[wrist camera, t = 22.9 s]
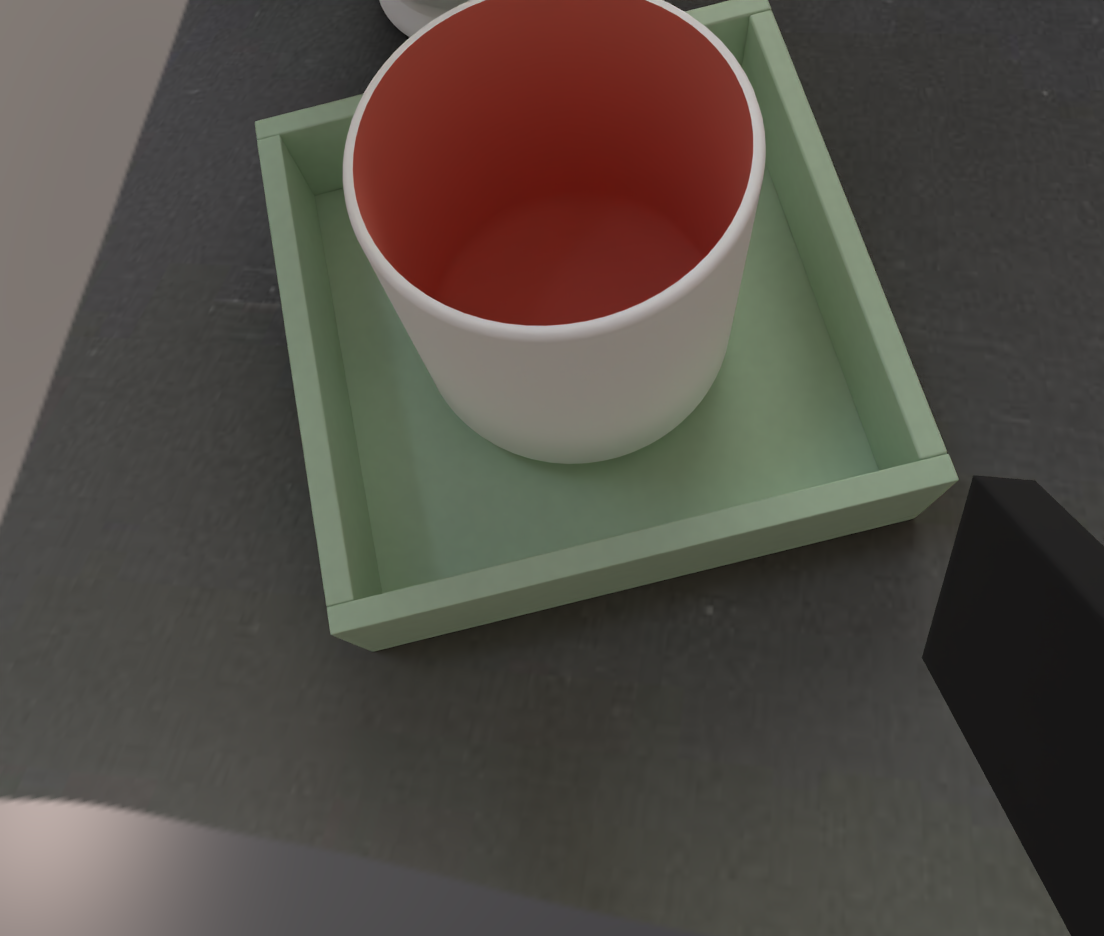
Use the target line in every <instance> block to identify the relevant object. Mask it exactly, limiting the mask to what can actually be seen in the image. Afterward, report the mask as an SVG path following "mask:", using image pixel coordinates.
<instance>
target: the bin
mask: <svg viewBox="0 0 1104 936" xmlns="http://www.w3.org/2000/svg"><path fill="white" fill-rule="evenodd" d="M686 13H687V14H689V15H690V16H692V17H693V18H695V19H696V20H697V21H699V22H700V23H701V24H703V25H704V26H706V27H707V28H708V29H709V30H710V31H711V32H712V33H713V34H714V35H715V36H716V37H718V38H719V39H720V40H721V41H722V42H723V44H724V45H725V46H726V47H727V48H728V49H729V51H730V52H731V53H732V54H733V55H734V57H735V58H736V60H737V61H738V63H739V64H740V66H741V67H742V69H743V70H744V72H745V73H746V75H747V77H748V79H749V81H750V83H751V85H752V87H753V90H754V93H755V96H756V99H757V102H758V104H759V108H760V111H761V114H762V118H763V124H764V130H765V142H766V159H765V169H764V177H763V181H762V186H761V191H760V195H759V200H758V205H757V210H756V214H755V219H754V224H753V228H752V233H751V238H750V243H749V247H748V252H747V257H746V261H745V266H744V271H743V276H742V280H741V285H740V290H739V294H738V299H737V304H736V309H735V313H734V318H733V323H732V327H731V332H730V337H729V341H728V346H727V350H726V354H725V357H724V360H723V363H722V365H721V368H720V370H719V372H718V374H717V377H716V379H715V380H714V382H713V384H712V386H711V387H710V389H709V391H708V392H707V394H706V395H705V397H704V398H703V399H702V401H701V402H700V403H699V405H698V406H697V407H696V408H695V409H694V410H693V412H692V413H691V414H690V415H689V416H688V417H687V418H686V419H685V420H683V421H682V422H681V423H680V424H679V425H678V426H677V427H675V428H674V429H673V430H672V431H670V432H669V433H667V434H666V435H665V436H663V437H662V438H660V439H658V440H657V441H655V442H653V443H652V444H650V445H648V446H646V447H643V448H641V449H639V450H637V451H635V452H632V453H629V454H626V455H624V456H621V457H618V458H613V459H609V460H605V461H600V462H592V463H583V464H561V463H549V462H544V461H539V460H533V459H530V458H526V457H523V456H520V455H517V454H514V453H512V452H509V451H507V450H505V449H503V448H500V447H498V446H496V445H495V444H493V443H491V442H490V441H488V440H486V439H485V438H483V437H481V436H480V435H479V434H478V433H476V432H475V431H474V430H472V429H471V428H470V427H469V426H467V425H466V424H465V423H464V422H463V421H462V420H461V419H460V418H459V417H458V416H457V415H456V414H455V413H454V411H453V410H452V409H451V408H450V406H449V405H448V404H447V402H446V401H445V400H444V398H443V397H442V395H441V394H440V392H439V390H438V388H437V386H436V384H435V383H434V381H433V379H432V377H431V375H430V373H429V372H428V370H427V368H426V366H425V364H424V362H423V361H422V359H421V357H420V355H419V353H418V351H417V349H416V348H415V346H414V344H413V342H412V340H411V338H410V336H409V335H408V333H407V331H406V329H405V327H404V325H403V324H402V322H401V320H400V318H399V316H398V314H397V312H396V310H395V309H394V307H393V305H392V303H391V301H390V299H389V297H388V296H387V294H386V292H385V290H384V288H383V286H382V284H381V283H380V281H379V279H378V277H377V275H376V273H375V271H374V270H373V268H372V266H371V264H370V262H369V260H368V258H367V256H366V255H365V253H364V251H363V249H362V247H361V245H360V243H359V242H358V240H357V237H356V235H355V232H354V230H353V228H352V225H351V222H350V219H349V215H348V212H347V208H346V202H345V196H344V188H343V157H344V149H345V144H346V139H347V134H348V131H349V128H350V124H351V121H352V118H353V116H354V113H355V111H356V108H357V106H358V104H359V102H360V100H361V98H362V96H363V94H361V95H357V96H353V97H349V98H345V99H341V100H337V101H333V102H329V103H326V104H322V105H318V106H314V107H310V108H306V109H302V110H298V111H294V112H290V113H286V114H282V115H279V116H275V117H271V118H267V119H263V120H259V121H256V122H255V129H256V136H257V140H258V141H257V144H258V151H259V158H260V164H261V171H262V178H263V185H264V191H265V198H266V205H267V211H268V218H269V225H270V231H271V238H272V245H273V252H274V258H275V265H276V272H277V278H278V285H279V292H280V299H281V305H282V312H283V319H284V325H285V332H286V339H287V346H288V352H289V359H290V366H291V372H292V379H293V386H294V393H295V399H296V406H297V413H298V419H299V426H300V433H301V440H302V446H303V453H304V460H305V466H306V473H307V480H308V487H309V493H310V500H311V507H312V513H313V520H314V527H315V533H316V540H317V547H318V554H319V560H320V567H321V574H322V580H323V587H324V594H325V601H326V606H327V615H328V621H329V628H330V634H331V635H333V636H335V637H337V638H340V639H342V640H345V641H347V642H349V643H352V644H354V645H357V646H359V647H362V648H364V649H367V650H370V651H372V652H374V651H378V650H382V649H386V648H390V647H394V646H399V645H403V644H407V643H411V642H415V641H419V640H423V639H427V638H431V637H435V636H439V635H443V634H447V633H451V632H455V631H459V630H464V629H468V628H472V627H476V626H480V625H484V624H488V623H492V622H496V621H500V620H504V619H508V618H512V617H516V616H520V615H524V614H529V613H533V612H537V611H541V610H545V609H549V608H553V607H557V606H561V605H565V604H569V603H573V602H577V601H581V600H585V599H589V598H593V597H598V596H602V595H606V594H610V593H614V592H618V591H622V590H626V589H630V588H634V587H638V586H642V585H646V584H650V583H654V582H658V581H663V580H667V579H671V578H675V577H679V576H683V575H687V574H691V573H695V572H699V571H703V570H707V569H711V568H715V567H719V566H723V565H728V564H732V563H736V562H740V561H744V560H748V559H752V558H756V557H760V556H764V555H768V554H772V553H776V552H780V551H784V550H788V549H792V548H797V547H801V546H805V545H809V544H813V543H817V542H821V541H825V540H829V539H833V538H837V537H841V536H845V535H849V534H853V533H857V532H862V531H866V530H870V529H874V528H878V527H882V526H886V525H890V524H894V523H898V522H902V521H906V520H910V519H914V518H916V517H917V516H918V515H919V514H920V513H922V512H923V511H924V510H925V509H926V508H927V507H929V506H930V505H931V504H932V503H933V502H934V501H935V500H936V499H938V498H939V497H940V496H941V495H942V494H943V493H944V492H946V491H947V490H948V489H949V488H950V487H951V486H952V485H954V484H955V483H956V482H957V481H958V480H959V479H958V476H957V474H956V471H955V469H954V466H953V464H952V461H951V458H950V456H949V454H946V453H947V450H946V448H945V445H944V443H943V440H942V438H941V435H940V433H939V430H938V428H937V425H936V423H935V420H934V418H933V415H932V413H931V410H930V407H929V405H928V402H927V400H926V397H925V395H924V392H923V390H922V387H921V385H920V382H919V380H918V377H917V375H916V372H915V370H914V367H913V365H912V362H911V360H910V357H909V355H908V352H907V350H906V347H905V345H904V342H903V340H902V337H901V335H900V332H899V329H898V327H897V324H896V322H895V319H894V317H893V314H892V312H891V309H890V307H889V304H888V302H887V299H886V297H885V294H884V292H883V289H882V287H881V284H880V282H879V279H878V277H877V274H876V272H875V269H874V267H873V264H872V262H871V259H870V256H869V254H868V251H867V249H866V246H865V244H864V241H863V239H862V236H861V234H860V231H859V229H858V226H857V224H856V221H855V219H854V216H853V214H852V211H851V209H850V206H849V204H848V201H847V199H846V196H845V194H844V191H843V189H842V186H841V184H840V181H839V178H838V176H837V173H836V171H835V168H834V166H833V163H832V161H831V158H830V156H829V153H828V151H827V148H826V146H825V143H824V141H823V138H822V136H821V133H820V131H819V128H818V126H817V123H816V121H815V118H814V116H813V113H812V111H811V108H810V106H809V103H808V100H807V98H806V95H805V93H804V90H803V88H802V85H801V83H800V80H799V78H798V75H797V73H796V70H795V68H794V65H793V63H792V60H791V58H790V55H789V53H788V50H787V48H786V45H785V43H784V40H783V38H782V35H781V33H780V30H779V27H778V25H777V22H776V20H775V17H774V15H773V12H772V11H771V7H770V4H769V2H768V0H729V1H725V2H721V3H717V4H713V5H709V6H706V7H702V8H698V9H694V10H690V11H686Z"/></svg>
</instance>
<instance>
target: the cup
mask: <svg viewBox="0 0 1104 936" xmlns="http://www.w3.org/2000/svg"><path fill="white" fill-rule="evenodd" d="M765 159H766V142H765V130H764V124H763V118H762V114H761V111H760V108H759V104H758V102H757V99H756V96H755V93H754V90H753V87H752V85H751V83H750V81H749V79H748V77H747V75H746V73H745V72H744V70H743V69H742V67H741V66H740V64H739V63H738V61H737V60H736V58H735V57H734V55H733V54H732V53H731V52H730V51H729V49H728V48H727V47H726V46H725V45H724V44H723V42H722V41H721V40H720V39H719V38H718V37H716V36H715V35H714V34H713V33H712V32H711V31H710V30H709V29H708V28H707V27H706V26H704V25H703V24H701V23H700V22H699V21H697V20H696V19H695V18H693V17H692V16H690V15H689V14H687V13H686V12H684V11H682V10H680V9H679V8H677V7H675V6H673V5H672V4H670V3H668V2H665V1H663V0H470V1H468V2H465V3H463V4H461V5H459V6H457V7H455V8H453V9H451V10H449V11H447V12H445V13H444V14H442V15H441V16H439V17H437V18H436V19H434V20H432V21H431V22H429V23H428V24H427V25H425V26H424V27H422V28H421V29H420V30H418V31H417V32H416V33H415V34H413V35H412V36H411V37H410V38H409V39H407V40H406V41H405V42H404V43H403V44H402V45H401V46H400V47H399V48H398V49H397V50H396V51H395V52H394V53H393V54H392V55H391V56H390V57H389V59H388V60H387V61H386V62H385V63H384V64H383V65H382V67H381V68H380V69H379V71H378V72H377V73H376V75H375V76H374V77H373V79H372V81H371V82H370V84H369V85H368V87H367V89H366V90H365V92H364V94H363V96H362V98H361V100H360V102H359V104H358V106H357V108H356V111H355V113H354V116H353V118H352V121H351V124H350V128H349V131H348V134H347V139H346V144H345V149H344V157H343V188H344V196H345V202H346V208H347V212H348V215H349V219H350V222H351V225H352V228H353V230H354V232H355V235H356V237H357V240H358V242H359V243H360V245H361V247H362V249H363V251H364V253H365V255H366V256H367V258H368V260H369V262H370V264H371V266H372V268H373V270H374V271H375V273H376V275H377V277H378V279H379V281H380V283H381V284H382V286H383V288H384V290H385V292H386V294H387V296H388V297H389V299H390V301H391V303H392V305H393V307H394V309H395V310H396V312H397V314H398V316H399V318H400V320H401V322H402V324H403V325H404V327H405V329H406V331H407V333H408V335H409V336H410V338H411V340H412V342H413V344H414V346H415V348H416V349H417V351H418V353H419V355H420V357H421V359H422V361H423V362H424V364H425V366H426V368H427V370H428V372H429V373H430V375H431V377H432V379H433V381H434V383H435V384H436V386H437V388H438V390H439V392H440V394H441V395H442V397H443V398H444V400H445V401H446V402H447V404H448V405H449V406H450V408H451V409H452V410H453V411H454V413H455V414H456V415H457V416H458V417H459V418H460V419H461V420H462V421H463V422H464V423H465V424H466V425H467V426H469V427H470V428H471V429H472V430H474V431H475V432H476V433H478V434H479V435H480V436H481V437H483V438H485V439H486V440H488V441H490V442H491V443H493V444H495V445H496V446H498V447H500V448H503V449H505V450H507V451H509V452H512V453H514V454H517V455H520V456H523V457H526V458H530V459H533V460H539V461H544V462H549V463H561V464H583V463H592V462H600V461H605V460H609V459H613V458H618V457H621V456H624V455H626V454H629V453H632V452H635V451H637V450H639V449H641V448H643V447H646V446H648V445H650V444H652V443H653V442H655V441H657V440H658V439H660V438H662V437H663V436H665V435H666V434H667V433H669V432H670V431H672V430H673V429H674V428H675V427H677V426H678V425H679V424H680V423H681V422H682V421H683V420H685V419H686V418H687V417H688V416H689V415H690V414H691V413H692V412H693V410H694V409H695V408H696V407H697V406H698V405H699V403H700V402H701V401H702V399H703V398H704V397H705V395H706V394H707V392H708V391H709V389H710V387H711V386H712V384H713V382H714V380H715V379H716V377H717V374H718V372H719V370H720V368H721V365H722V363H723V360H724V357H725V354H726V350H727V346H728V341H729V337H730V332H731V327H732V323H733V318H734V313H735V309H736V304H737V299H738V294H739V290H740V285H741V280H742V276H743V271H744V266H745V261H746V257H747V252H748V247H749V243H750V238H751V233H752V228H753V224H754V219H755V214H756V210H757V205H758V200H759V195H760V191H761V186H762V181H763V177H764V169H765Z"/></svg>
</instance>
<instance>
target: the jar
mask: <svg viewBox="0 0 1104 936" xmlns="http://www.w3.org/2000/svg"><path fill="white" fill-rule="evenodd" d="M468 1H470V0H379V2H380V4H381V6H382V8H383V10H384V12H385V14H386V15H387V17H388V18H389V19H390V21H391V22H392V23H393V24H394V25H395V26H396V27H397V28H398V29H399V30H400V31H401V32H403V33H404V34H405V35H407V36H408V37H411V36H412V35H413V34H415V33H416V32H417V31H418V30H420V29H421V28H422V27H424V26H425V25H427V24H428V23H429V22H431V21H432V20H434V19H436V18H437V17H439V16H441V15H442V14H444V13H445V12H447V11H449V10H451V9H453V8H455V7H457V6H459V5H461V4H463V3H465V2H468Z"/></svg>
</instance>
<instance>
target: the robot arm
mask: <svg viewBox="0 0 1104 936" xmlns="http://www.w3.org/2000/svg"><path fill="white" fill-rule="evenodd" d="M922 658H923V660H924V662H925V664H926V666H927V668H928V670H929V671H930V673H931V675H932V677H933V679H934V681H935V683H936V685H937V686H938V688H939V690H940V692H941V694H942V696H943V698H944V699H945V701H946V703H947V705H948V707H949V709H950V711H951V712H952V714H953V716H954V718H955V720H956V722H957V724H958V726H959V727H960V729H961V731H962V733H963V735H964V737H965V739H966V740H967V742H968V744H969V746H970V748H971V750H972V752H973V754H974V755H975V757H976V759H977V761H978V763H979V765H980V767H981V768H982V770H983V772H984V774H985V776H986V778H987V780H988V781H989V783H990V785H991V787H992V789H993V791H994V793H995V795H996V796H997V798H998V800H999V802H1000V804H1001V806H1002V808H1003V809H1004V811H1005V813H1006V815H1007V817H1008V819H1009V821H1010V822H1011V824H1012V826H1013V828H1014V830H1015V832H1016V834H1017V836H1018V837H1019V839H1020V841H1021V843H1022V845H1023V847H1024V849H1025V850H1026V852H1027V854H1028V856H1029V858H1030V860H1031V862H1032V864H1033V865H1034V867H1035V869H1036V871H1037V873H1038V875H1039V877H1040V878H1041V880H1042V882H1043V884H1044V886H1045V888H1046V890H1047V891H1048V893H1049V895H1050V897H1051V899H1052V901H1053V903H1054V905H1055V906H1056V908H1057V910H1058V912H1059V914H1060V916H1061V918H1062V919H1063V921H1064V923H1065V925H1066V927H1067V929H1068V931H1069V933H1070V934H1071V936H1104V546H1103V545H1102V544H1101V543H1100V542H1099V541H1098V540H1096V539H1095V538H1094V537H1093V536H1092V535H1091V534H1090V533H1089V532H1088V531H1087V530H1086V529H1085V528H1084V527H1083V526H1082V525H1081V524H1080V523H1079V522H1078V521H1077V520H1076V519H1075V518H1073V517H1072V516H1071V515H1070V514H1069V513H1068V512H1067V511H1066V510H1065V509H1064V508H1063V507H1062V506H1061V505H1060V504H1059V503H1058V502H1057V501H1056V500H1055V499H1054V498H1053V497H1052V496H1050V495H1049V494H1048V493H1047V492H1046V491H1045V490H1044V489H1043V488H1042V487H1041V486H1040V485H1039V484H1038V483H1037V482H1036V481H1033V480H1021V479H1009V478H998V477H986V476H974V475H973V479H972V482H971V486H970V489H969V493H968V496H967V500H966V504H965V507H964V511H963V514H962V518H961V521H960V525H959V528H958V532H957V535H956V539H955V543H954V546H953V550H952V553H951V557H950V560H949V564H948V567H947V571H946V574H945V578H944V581H943V585H942V589H941V592H940V596H939V599H938V603H937V606H936V610H935V613H934V617H933V620H932V624H931V628H930V631H929V635H928V638H927V642H926V645H925V649H924V652H923V656H922Z"/></svg>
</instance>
